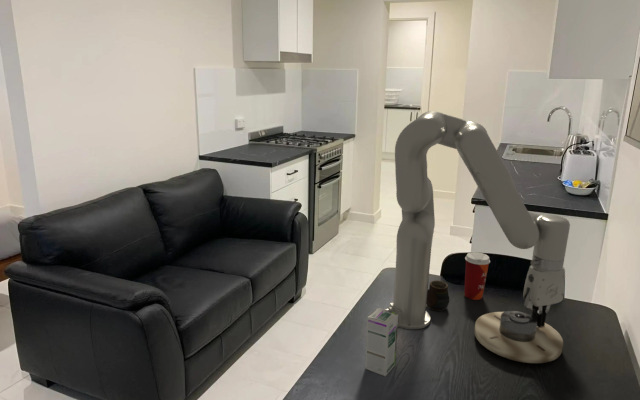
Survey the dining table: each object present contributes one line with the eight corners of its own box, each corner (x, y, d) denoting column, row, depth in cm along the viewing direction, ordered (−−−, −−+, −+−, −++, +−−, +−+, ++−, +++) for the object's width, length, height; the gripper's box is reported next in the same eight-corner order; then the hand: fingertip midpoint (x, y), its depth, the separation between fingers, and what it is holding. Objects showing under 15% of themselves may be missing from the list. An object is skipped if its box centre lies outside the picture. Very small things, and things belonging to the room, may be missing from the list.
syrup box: (386, 377, 115) (389, 323, 111) (364, 368, 118) (366, 316, 114) (395, 365, 120) (399, 313, 116) (374, 357, 123) (377, 306, 119)
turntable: (514, 370, 116) (515, 363, 115) (458, 325, 136) (458, 318, 135) (581, 353, 124) (582, 346, 123) (519, 312, 143) (520, 306, 143)
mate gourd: (440, 300, 153) (443, 271, 150) (453, 312, 146) (457, 282, 143) (420, 303, 151) (423, 274, 148) (433, 315, 144) (436, 285, 141)
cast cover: (514, 344, 123) (517, 326, 122) (492, 326, 132) (494, 309, 130) (542, 338, 126) (545, 321, 125) (518, 321, 134) (521, 305, 133)
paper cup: (487, 302, 152) (492, 261, 148) (462, 299, 154) (466, 259, 150) (484, 291, 160) (488, 252, 156) (460, 289, 161) (464, 250, 157)
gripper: (536, 271, 120) (526, 336, 125) (580, 264, 125) (569, 326, 130) (514, 260, 127) (505, 322, 132) (557, 253, 132) (547, 313, 137)
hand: (537, 324), depth 131 cm, fingers closed
